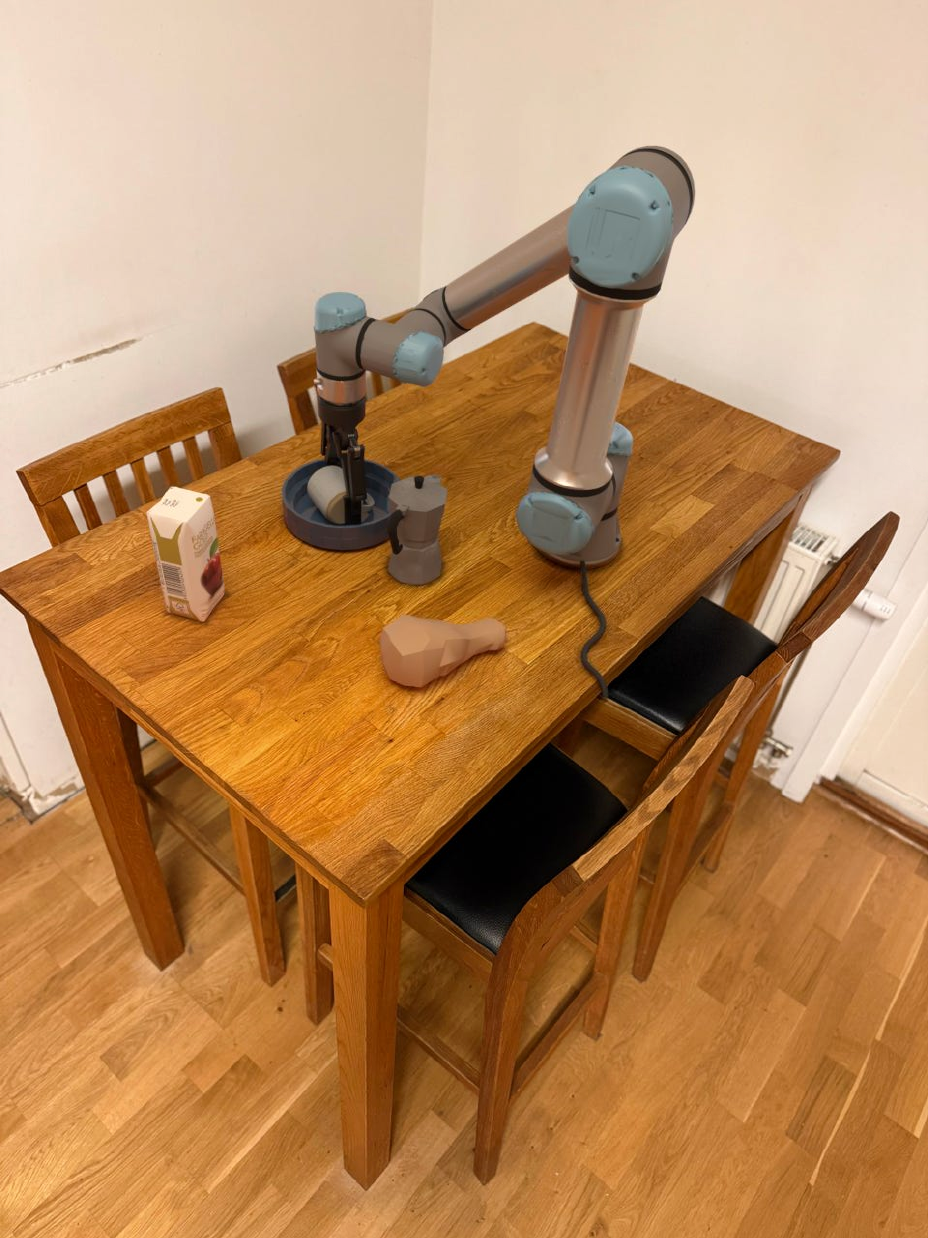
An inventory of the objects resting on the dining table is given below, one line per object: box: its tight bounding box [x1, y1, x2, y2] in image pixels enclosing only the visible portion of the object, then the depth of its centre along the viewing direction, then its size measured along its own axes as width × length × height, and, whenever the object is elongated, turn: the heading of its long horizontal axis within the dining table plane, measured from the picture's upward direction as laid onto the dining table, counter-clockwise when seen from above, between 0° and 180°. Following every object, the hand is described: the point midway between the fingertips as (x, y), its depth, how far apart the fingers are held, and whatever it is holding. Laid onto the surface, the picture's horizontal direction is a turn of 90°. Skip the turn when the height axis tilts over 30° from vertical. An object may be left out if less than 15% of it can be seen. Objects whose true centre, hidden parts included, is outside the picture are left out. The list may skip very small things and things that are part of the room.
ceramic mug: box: [307, 466, 374, 525], centre depth 152 cm, size 11×8×8 cm
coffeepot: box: [387, 473, 448, 586], centre depth 140 cm, size 15×9×18 cm, turn 153°
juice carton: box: [146, 486, 225, 623], centre depth 130 cm, size 8×9×19 cm
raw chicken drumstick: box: [378, 613, 507, 688], centre depth 129 cm, size 11×20×9 cm, turn 121°
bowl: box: [281, 458, 401, 551], centre depth 153 cm, size 21×21×6 cm
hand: (343, 510), depth 155 cm, fingers closed on ceramic mug, 8 cm apart
